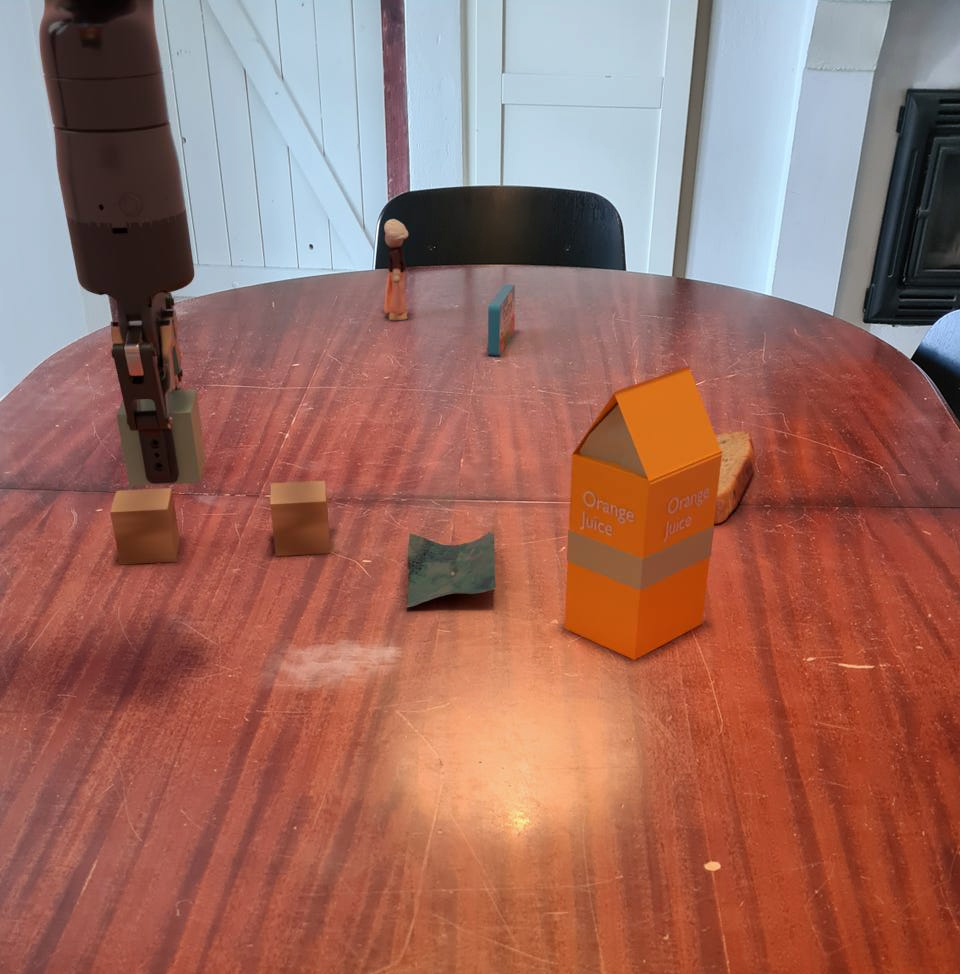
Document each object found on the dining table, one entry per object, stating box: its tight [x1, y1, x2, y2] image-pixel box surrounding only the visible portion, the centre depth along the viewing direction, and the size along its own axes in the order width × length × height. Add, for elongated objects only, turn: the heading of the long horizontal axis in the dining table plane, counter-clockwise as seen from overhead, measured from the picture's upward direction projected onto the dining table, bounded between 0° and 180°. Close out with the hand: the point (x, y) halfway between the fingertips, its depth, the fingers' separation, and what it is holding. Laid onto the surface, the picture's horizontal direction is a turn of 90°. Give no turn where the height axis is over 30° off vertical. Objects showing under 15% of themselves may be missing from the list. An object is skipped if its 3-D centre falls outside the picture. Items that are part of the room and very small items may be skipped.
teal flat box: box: [487, 283, 516, 357], centre depth 164 cm, size 12×2×6 cm, turn 169°
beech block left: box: [109, 487, 181, 566], centre depth 112 cm, size 5×5×5 cm
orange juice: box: [564, 365, 723, 661], centre depth 96 cm, size 8×9×20 cm
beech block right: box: [269, 480, 332, 557], centre depth 114 cm, size 5×5×5 cm
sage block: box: [116, 388, 207, 487], centre depth 88 cm, size 5×5×5 cm
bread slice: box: [714, 429, 757, 525], centre depth 126 cm, size 18×18×4 cm
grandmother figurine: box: [383, 218, 409, 321], centre depth 173 cm, size 8×4×13 cm, turn 10°
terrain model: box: [406, 531, 497, 608], centre depth 109 cm, size 13×8×2 cm, turn 0°
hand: (167, 465), depth 89 cm, fingers closed on sage block, 5 cm apart
